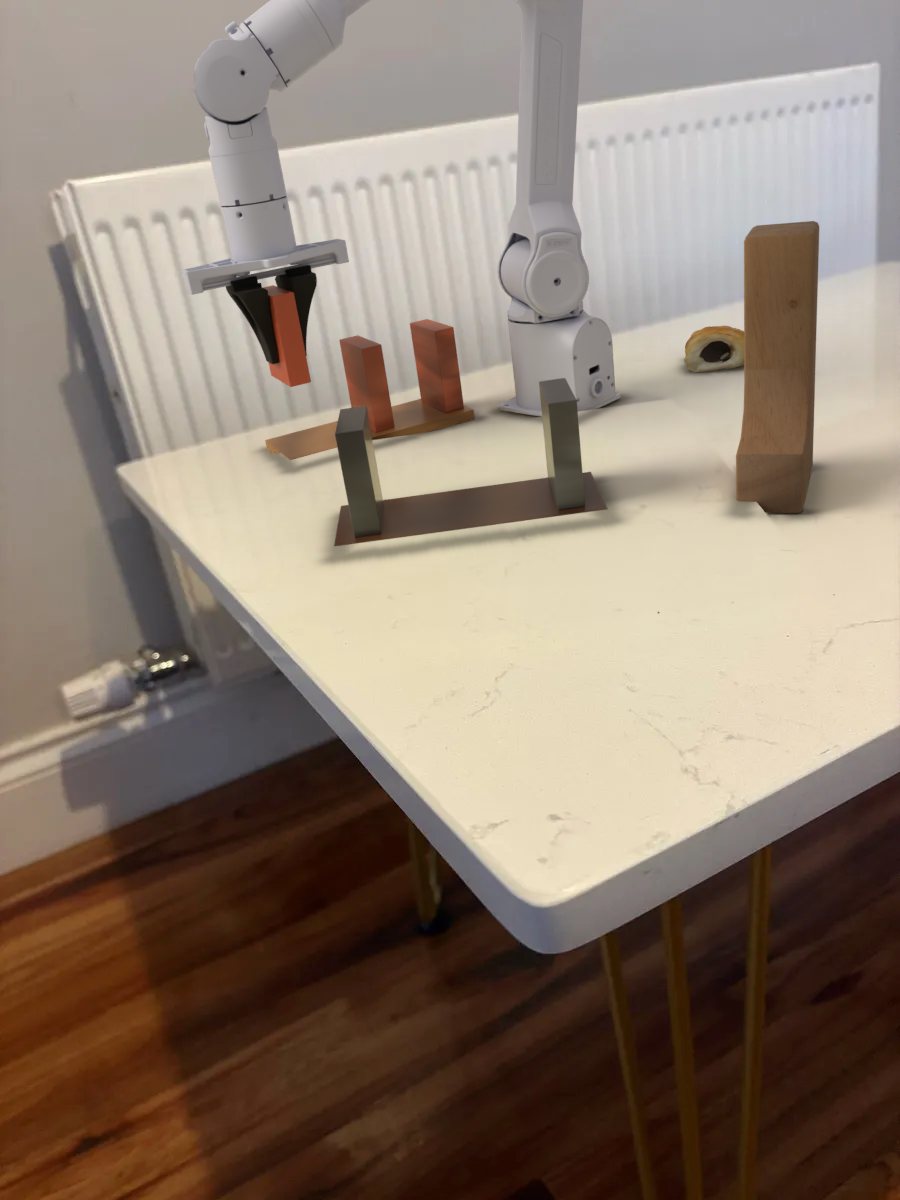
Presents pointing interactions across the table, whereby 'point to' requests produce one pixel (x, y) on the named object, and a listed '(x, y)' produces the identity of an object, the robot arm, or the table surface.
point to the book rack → (371, 390)
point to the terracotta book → (287, 338)
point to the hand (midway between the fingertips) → (286, 358)
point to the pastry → (715, 349)
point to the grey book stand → (473, 505)
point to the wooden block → (778, 365)
